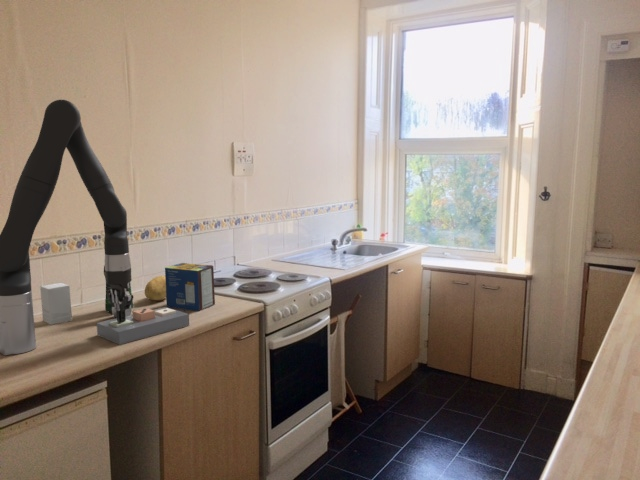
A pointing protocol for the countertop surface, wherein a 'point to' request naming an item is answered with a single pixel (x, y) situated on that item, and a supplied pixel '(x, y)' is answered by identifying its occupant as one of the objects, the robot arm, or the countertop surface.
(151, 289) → the potato
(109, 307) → the coffee jar
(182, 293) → the protein box
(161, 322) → the button panel
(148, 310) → the button three dots
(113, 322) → the button two dots
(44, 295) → the supplement box
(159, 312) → the button one dot
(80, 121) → the robot arm
